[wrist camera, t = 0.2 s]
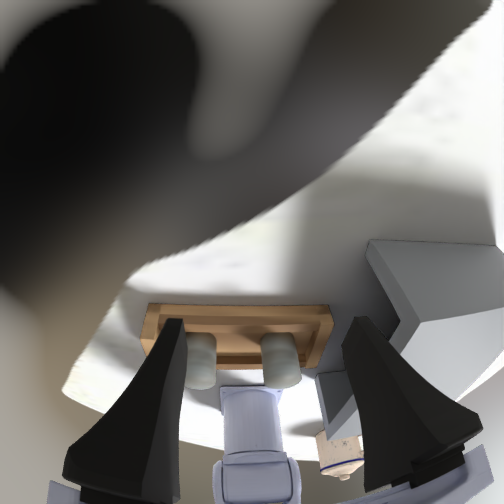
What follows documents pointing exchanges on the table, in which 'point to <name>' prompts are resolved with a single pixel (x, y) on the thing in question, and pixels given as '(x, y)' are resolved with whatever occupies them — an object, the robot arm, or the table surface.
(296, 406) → the table surface
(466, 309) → the grey low stand
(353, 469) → the teacup with lid
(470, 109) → the table surface
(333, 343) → the table surface
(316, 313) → the teak tray
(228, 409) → the robot arm
